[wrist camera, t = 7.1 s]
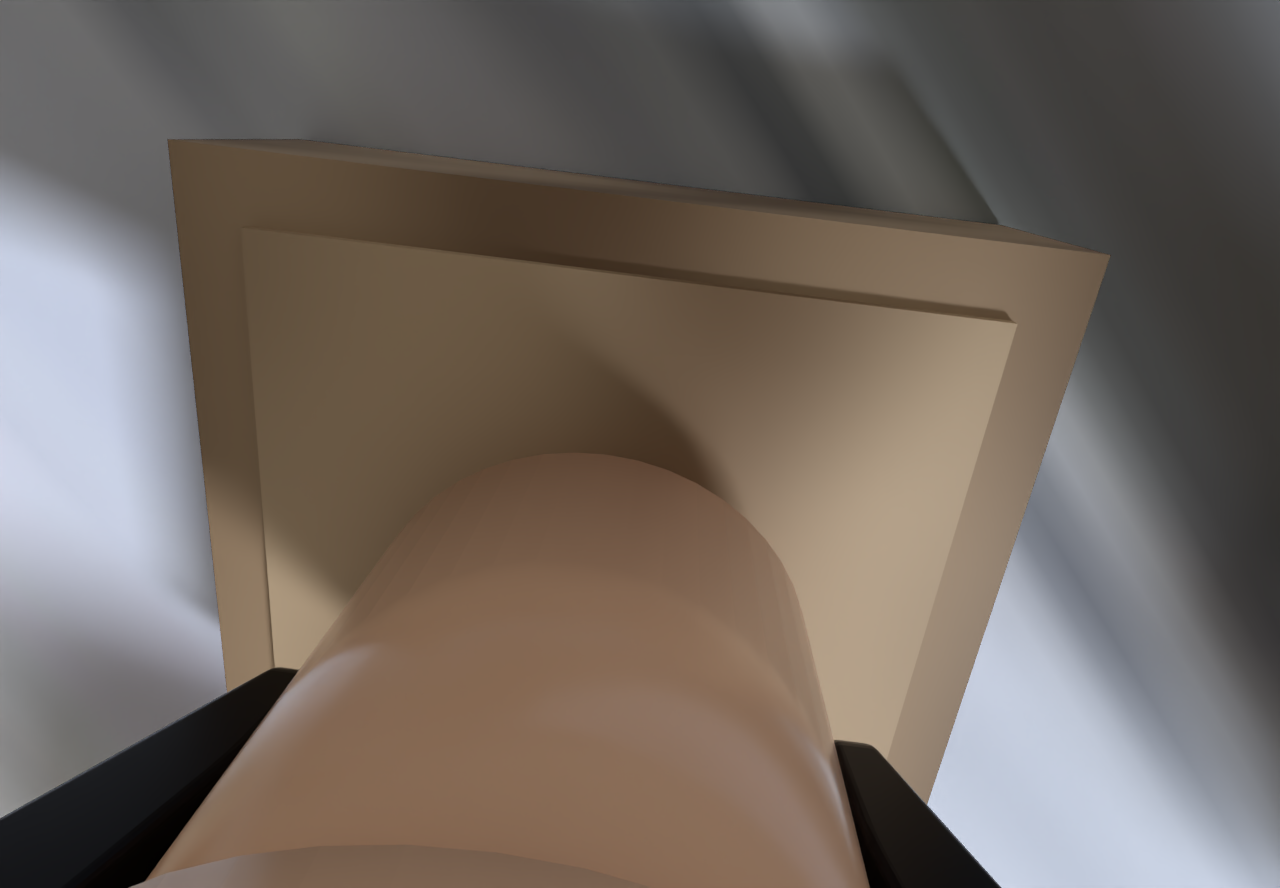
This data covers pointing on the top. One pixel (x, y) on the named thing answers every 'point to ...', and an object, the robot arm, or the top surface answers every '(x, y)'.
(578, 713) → the terracotta pot
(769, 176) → the top surface
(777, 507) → the square wooden tray
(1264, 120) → the top surface
